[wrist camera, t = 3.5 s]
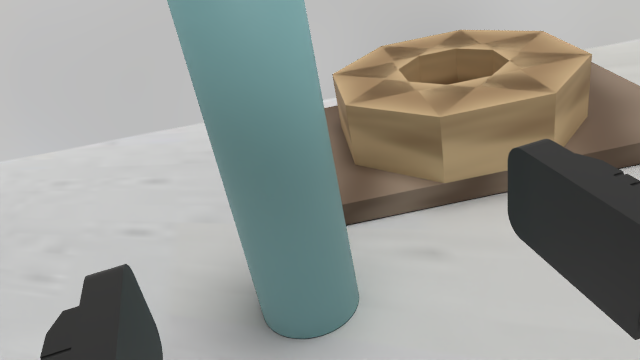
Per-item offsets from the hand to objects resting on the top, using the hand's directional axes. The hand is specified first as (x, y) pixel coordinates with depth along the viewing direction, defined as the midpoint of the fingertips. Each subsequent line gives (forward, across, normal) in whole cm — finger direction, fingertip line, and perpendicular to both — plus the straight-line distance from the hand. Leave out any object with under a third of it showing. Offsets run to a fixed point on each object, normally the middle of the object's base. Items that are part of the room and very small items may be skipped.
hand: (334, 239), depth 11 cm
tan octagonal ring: (+18, -12, +7) cm, 23 cm away
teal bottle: (+8, 0, +8) cm, 12 cm away
